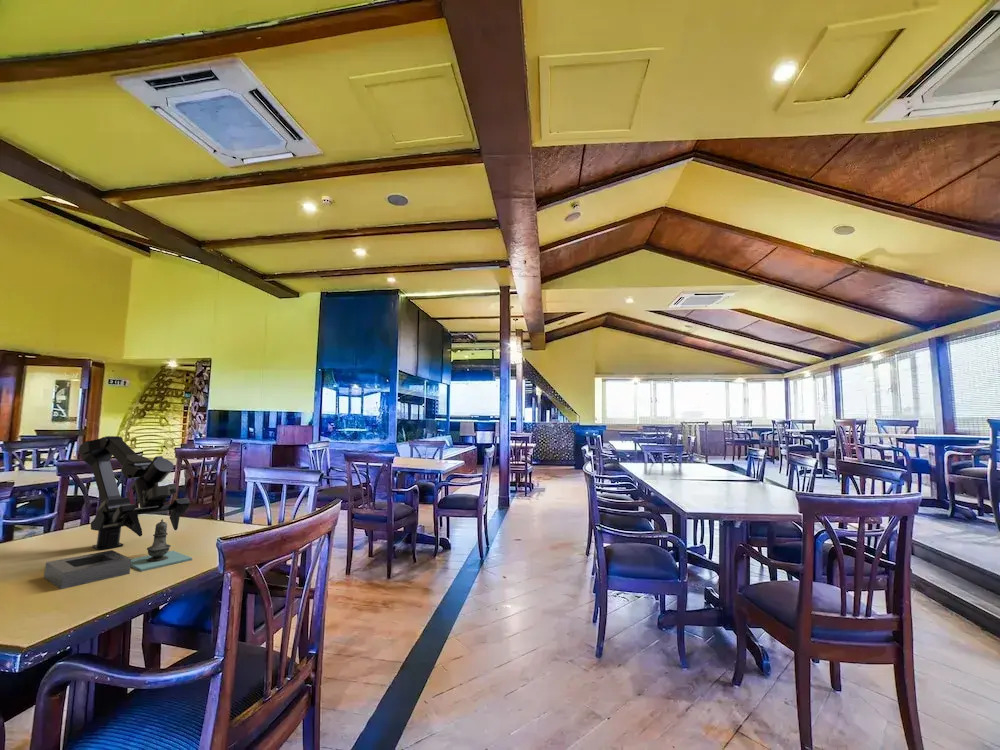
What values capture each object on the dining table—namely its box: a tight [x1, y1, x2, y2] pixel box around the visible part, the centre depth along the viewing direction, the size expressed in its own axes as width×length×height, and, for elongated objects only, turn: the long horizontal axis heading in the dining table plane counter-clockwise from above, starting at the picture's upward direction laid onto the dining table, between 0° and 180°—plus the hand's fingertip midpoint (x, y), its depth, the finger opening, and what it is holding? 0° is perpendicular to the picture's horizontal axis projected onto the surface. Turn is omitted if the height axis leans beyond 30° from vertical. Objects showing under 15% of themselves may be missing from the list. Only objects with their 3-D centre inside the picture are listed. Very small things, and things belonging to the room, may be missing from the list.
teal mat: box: [130, 550, 193, 572], centre depth 132 cm, size 13×13×1 cm
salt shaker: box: [146, 518, 172, 562], centre depth 132 cm, size 6×6×12 cm
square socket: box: [43, 549, 132, 590], centre depth 119 cm, size 14×14×4 cm
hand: (159, 532), depth 133 cm, fingers open, 9 cm apart
